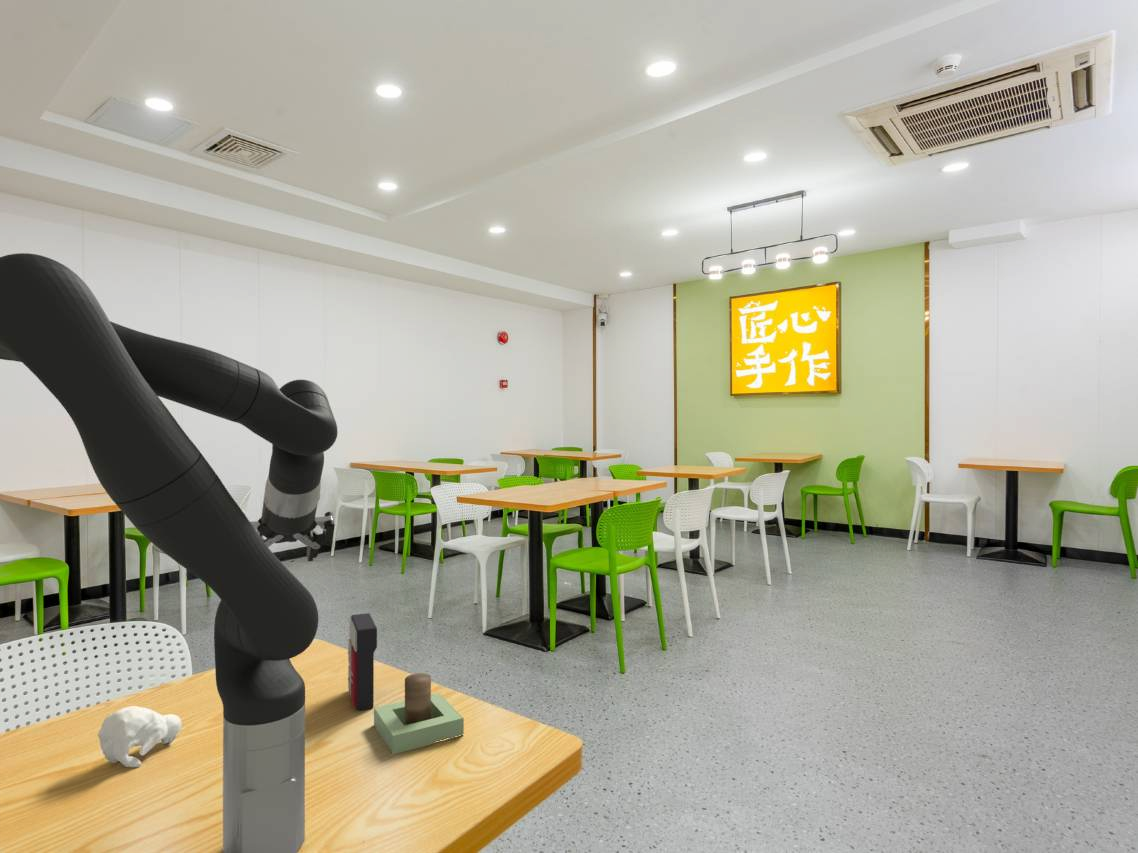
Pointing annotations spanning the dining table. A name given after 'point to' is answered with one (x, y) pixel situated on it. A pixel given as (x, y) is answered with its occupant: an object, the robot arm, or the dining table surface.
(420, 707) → the walnut pin
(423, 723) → the socket block
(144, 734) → the white animal figurine
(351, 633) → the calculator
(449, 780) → the dining table surface
